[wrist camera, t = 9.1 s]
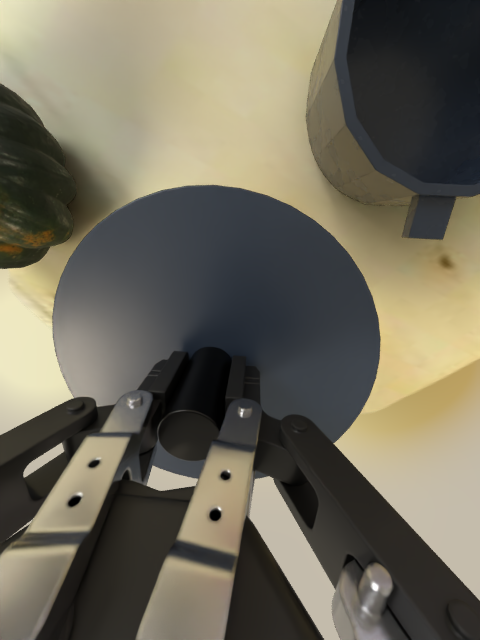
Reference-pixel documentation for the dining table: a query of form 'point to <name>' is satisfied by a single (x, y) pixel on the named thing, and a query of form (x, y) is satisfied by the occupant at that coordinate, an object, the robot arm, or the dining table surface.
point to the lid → (217, 313)
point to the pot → (400, 106)
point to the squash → (30, 185)
